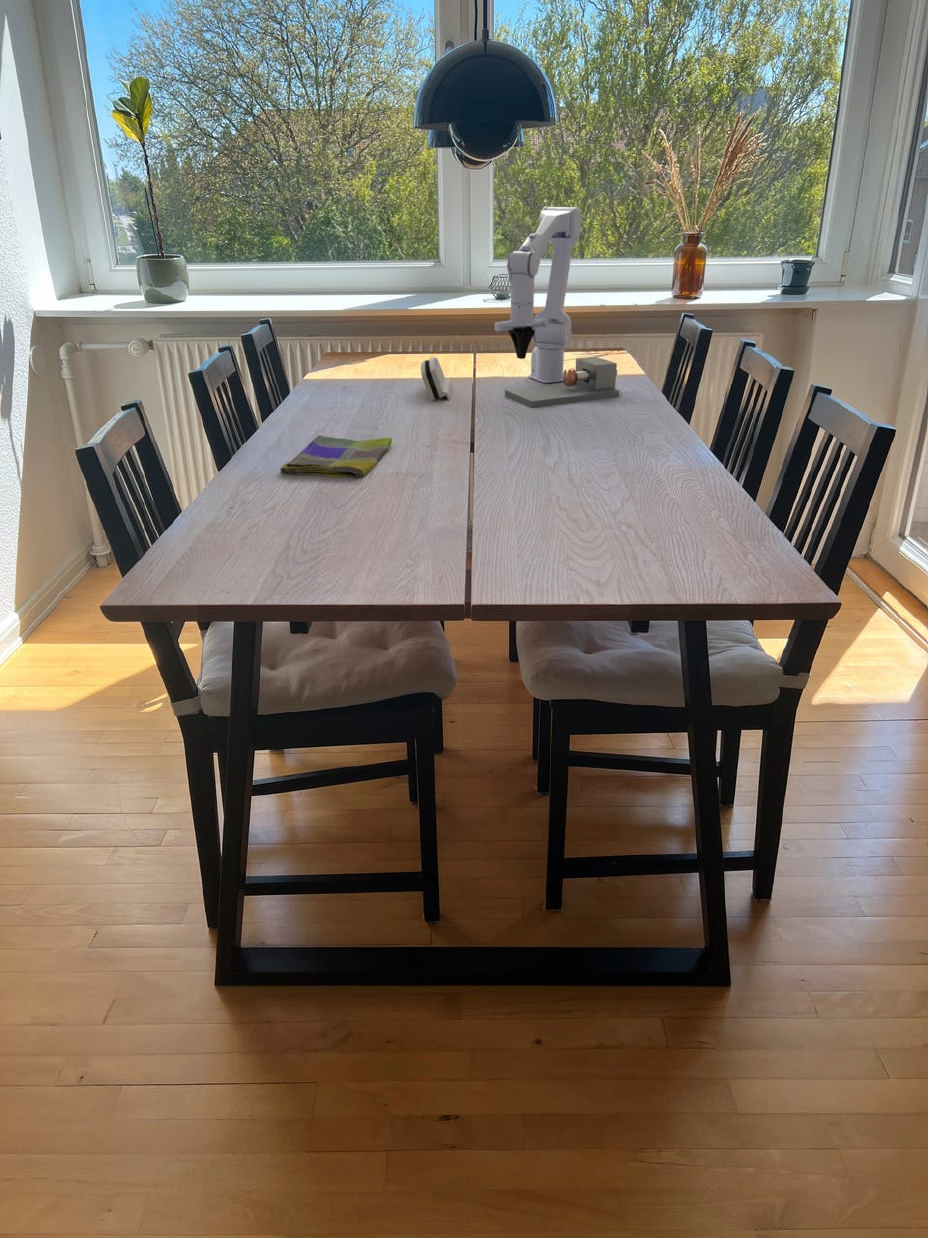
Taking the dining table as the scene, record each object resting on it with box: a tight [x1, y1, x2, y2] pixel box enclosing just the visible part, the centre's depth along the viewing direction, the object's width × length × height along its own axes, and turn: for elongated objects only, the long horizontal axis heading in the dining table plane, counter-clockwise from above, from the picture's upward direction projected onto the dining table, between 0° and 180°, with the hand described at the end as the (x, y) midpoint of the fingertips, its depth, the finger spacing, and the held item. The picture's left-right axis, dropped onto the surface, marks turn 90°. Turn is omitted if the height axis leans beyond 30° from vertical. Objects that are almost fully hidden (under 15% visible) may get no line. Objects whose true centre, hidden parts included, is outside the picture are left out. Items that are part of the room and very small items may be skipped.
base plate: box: [504, 382, 620, 408], centre depth 241 cm, size 14×26×2 cm, turn 116°
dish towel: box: [279, 434, 393, 479], centre depth 192 cm, size 18×24×3 cm
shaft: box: [562, 368, 618, 387], centre depth 243 cm, size 4×15×4 cm, turn 116°
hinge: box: [420, 357, 453, 401], centre depth 244 cm, size 17×5×10 cm, turn 179°
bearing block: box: [575, 356, 618, 391], centre depth 243 cm, size 10×6×6 cm, turn 26°
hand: (521, 357), depth 239 cm, fingers closed
